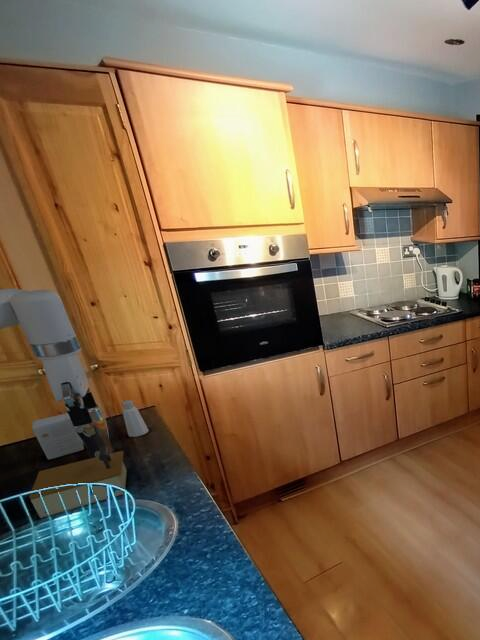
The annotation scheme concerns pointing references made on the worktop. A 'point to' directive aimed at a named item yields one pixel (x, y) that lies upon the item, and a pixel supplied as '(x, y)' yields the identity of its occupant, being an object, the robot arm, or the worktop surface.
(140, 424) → the pepper shaker
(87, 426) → the beer glass
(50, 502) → the open cream tray
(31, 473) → the worktop surface
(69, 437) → the small box
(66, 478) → the cover
